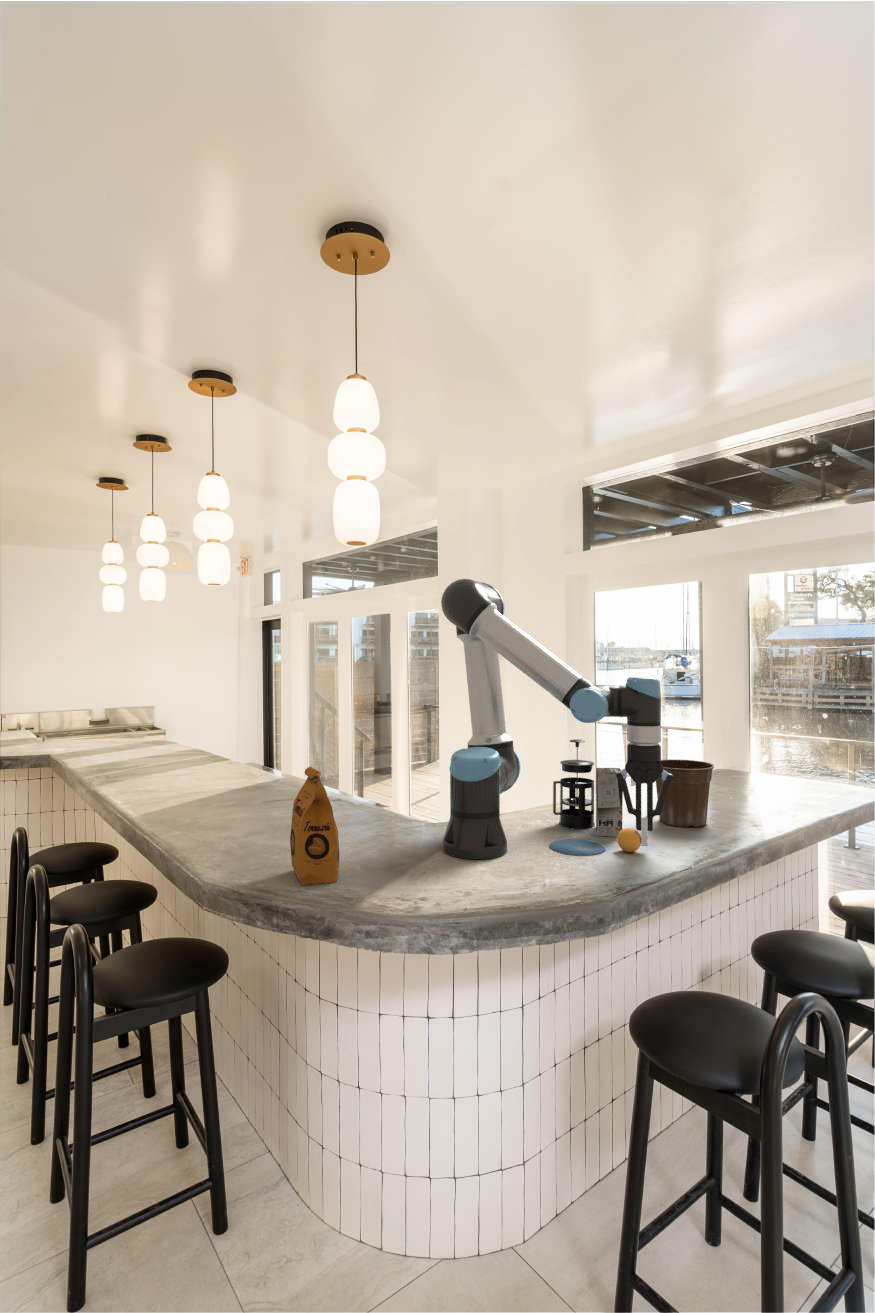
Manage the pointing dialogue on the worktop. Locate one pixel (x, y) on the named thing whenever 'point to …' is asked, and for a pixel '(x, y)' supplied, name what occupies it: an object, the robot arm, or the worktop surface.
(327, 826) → the coffee package
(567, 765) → the french press
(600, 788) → the coffee box
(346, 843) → the worktop surface
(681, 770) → the plant pot
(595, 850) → the disc
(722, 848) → the worktop surface
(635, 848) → the ball
